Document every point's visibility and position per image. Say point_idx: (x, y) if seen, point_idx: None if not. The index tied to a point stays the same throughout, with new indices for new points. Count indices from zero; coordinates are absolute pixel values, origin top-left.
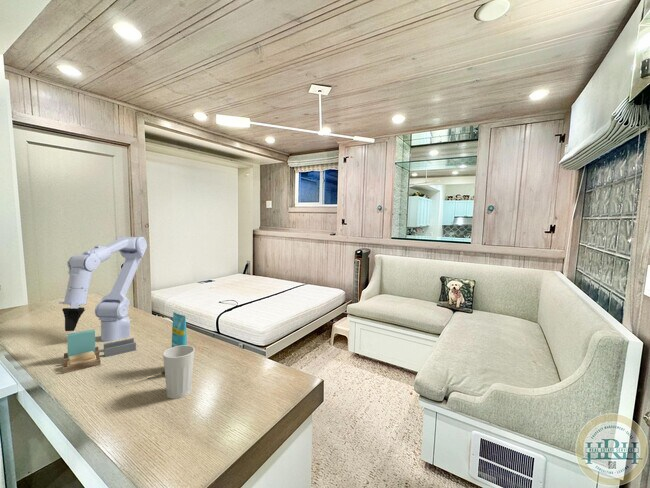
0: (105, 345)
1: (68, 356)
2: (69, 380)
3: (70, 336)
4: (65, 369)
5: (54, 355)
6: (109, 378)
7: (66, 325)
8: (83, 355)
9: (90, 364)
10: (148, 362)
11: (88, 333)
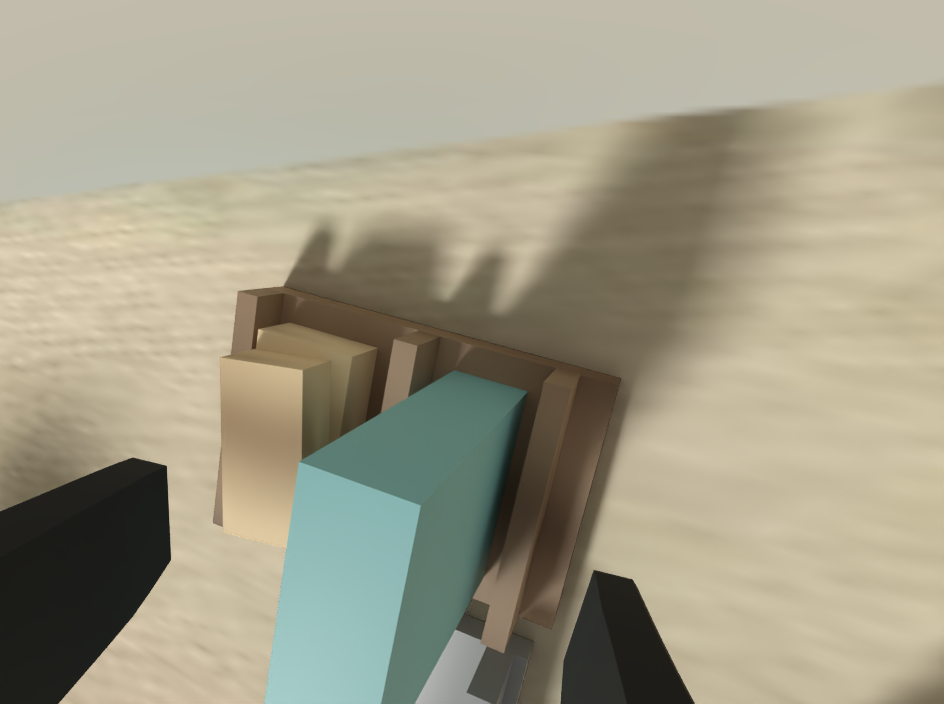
0: (466, 696)
1: (428, 389)
2: (201, 301)
3: (299, 492)
4: (244, 306)
5: (897, 357)
6: (82, 461)
7: (21, 524)
8: (245, 460)
9: None
10: (138, 689)
11: (273, 675)
